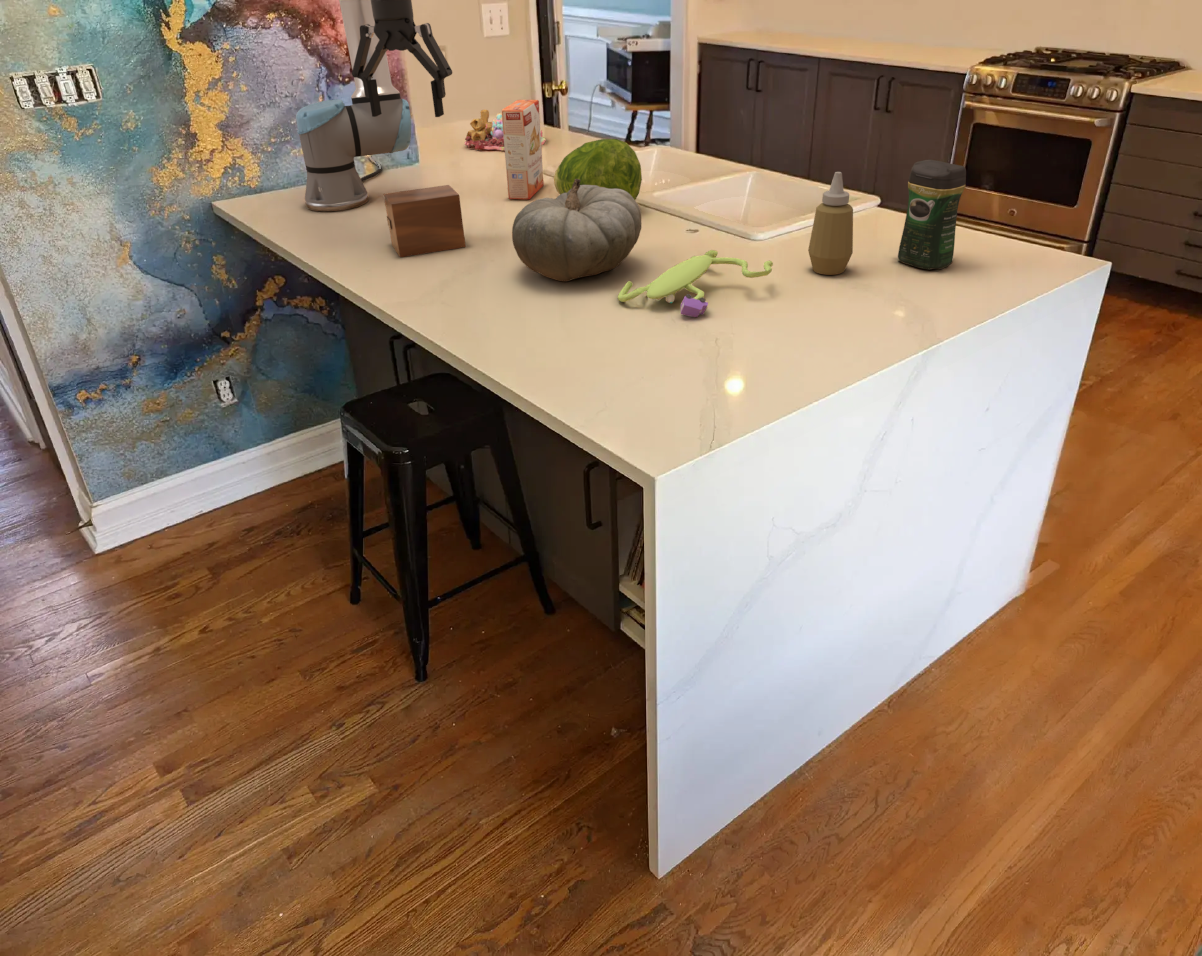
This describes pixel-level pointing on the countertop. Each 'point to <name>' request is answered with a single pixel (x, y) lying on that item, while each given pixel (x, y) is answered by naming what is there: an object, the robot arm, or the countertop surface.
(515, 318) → the countertop surface
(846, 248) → the squeeze bottle
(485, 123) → the coral reef ornament
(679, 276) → the figurine
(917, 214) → the coffee jar
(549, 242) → the gourd
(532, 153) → the cracker box
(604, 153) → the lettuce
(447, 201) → the wooden storage crate
